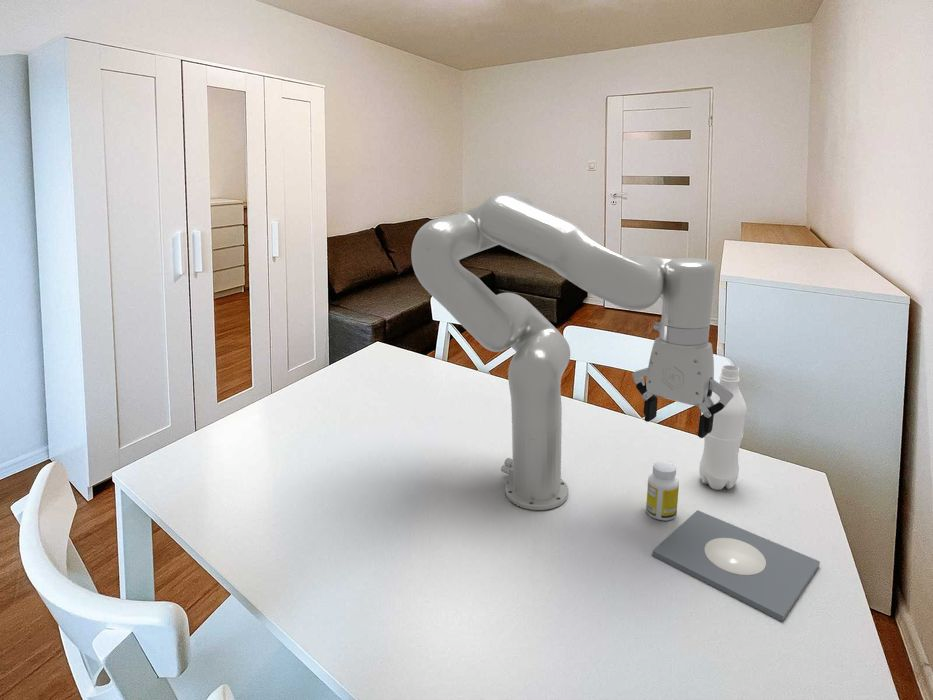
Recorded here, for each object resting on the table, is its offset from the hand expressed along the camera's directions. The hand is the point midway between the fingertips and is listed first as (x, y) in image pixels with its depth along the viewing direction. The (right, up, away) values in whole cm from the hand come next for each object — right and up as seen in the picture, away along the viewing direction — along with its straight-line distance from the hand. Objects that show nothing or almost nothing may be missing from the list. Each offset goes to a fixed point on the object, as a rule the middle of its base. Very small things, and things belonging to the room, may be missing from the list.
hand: (676, 426), depth 96 cm
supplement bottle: (0, -17, +6) cm, 18 cm away
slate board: (+7, -21, -7) cm, 23 cm away
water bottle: (+14, -14, +15) cm, 25 cm away
